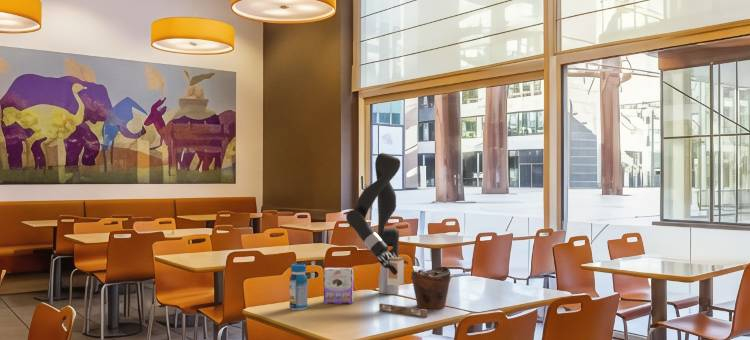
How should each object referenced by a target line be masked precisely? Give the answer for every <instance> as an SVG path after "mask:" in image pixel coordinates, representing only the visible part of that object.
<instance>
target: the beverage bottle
mask: <svg viewBox="0 0 750 340" xmlns="http://www.w3.org/2000/svg"><path fill="white" fill-rule="evenodd" d="M306 265H307V264H305V263H293V264H291V266H290V271H291V273H292V274H290V276H289V285H288V287H289V309H290V310H293V311H304V310H306V309H308V287H309V283H308V276H307V275H306V273H305V272H306V271H307V266H306Z"/></svg>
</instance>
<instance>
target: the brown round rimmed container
mask: <svg viewBox="0 0 750 340" xmlns="http://www.w3.org/2000/svg"><path fill="white" fill-rule="evenodd" d="M410 280H412V285H413V286H412V287H413V291H414V297H415V301H416V307H417V308H418V309H425V310H436V309H444V308H445V306H446V303H447V297H448V294H449V293H448V292H449V287H450V282H451V271H450V269H449V267H446V266H440V267H437V268H432V269H429V270H428V269H427V270H425V269H424V270H423V269H420V270H418V271H416V270H412V271H411V275H410Z"/></svg>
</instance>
